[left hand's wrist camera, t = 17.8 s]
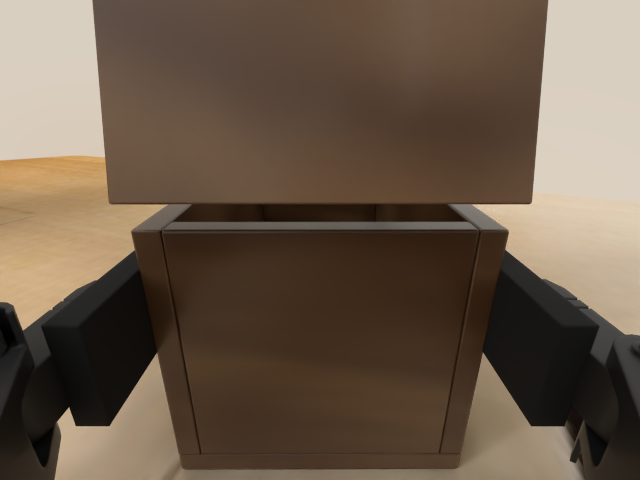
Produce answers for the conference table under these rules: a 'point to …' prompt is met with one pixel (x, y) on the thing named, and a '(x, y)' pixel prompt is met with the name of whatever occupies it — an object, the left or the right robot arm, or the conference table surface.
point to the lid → (320, 100)
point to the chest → (319, 330)
